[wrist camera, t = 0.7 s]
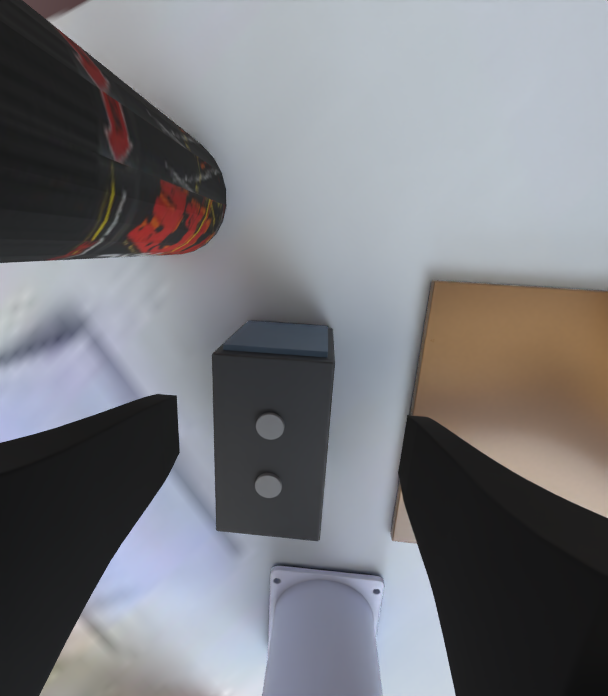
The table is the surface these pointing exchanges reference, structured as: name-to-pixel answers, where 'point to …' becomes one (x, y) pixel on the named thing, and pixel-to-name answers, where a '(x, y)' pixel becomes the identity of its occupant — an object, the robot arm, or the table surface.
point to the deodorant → (91, 157)
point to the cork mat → (519, 383)
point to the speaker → (272, 428)
